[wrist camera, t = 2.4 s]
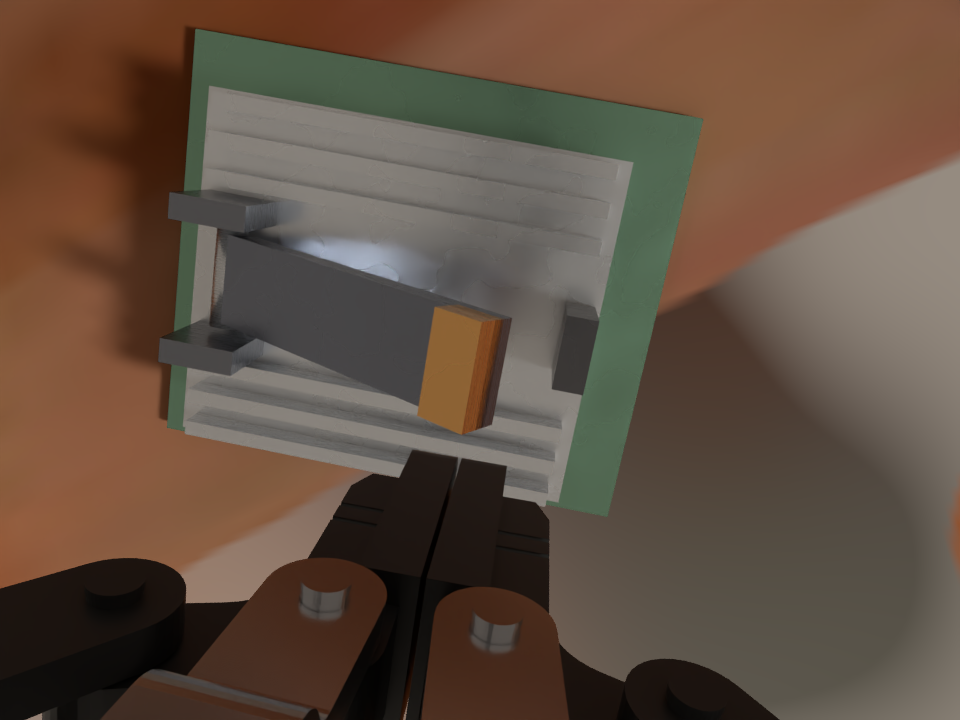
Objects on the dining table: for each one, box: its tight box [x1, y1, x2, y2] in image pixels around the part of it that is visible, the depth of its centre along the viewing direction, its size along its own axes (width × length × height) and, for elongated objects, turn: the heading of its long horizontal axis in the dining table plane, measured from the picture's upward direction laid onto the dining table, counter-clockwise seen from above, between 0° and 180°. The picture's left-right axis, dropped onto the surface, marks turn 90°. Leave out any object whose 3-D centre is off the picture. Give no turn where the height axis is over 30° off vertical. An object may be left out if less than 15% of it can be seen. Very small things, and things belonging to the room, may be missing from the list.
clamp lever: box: [209, 228, 512, 435], centre depth 23 cm, size 12×3×2 cm
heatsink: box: [158, 29, 703, 517], centre depth 27 cm, size 16×19×7 cm
